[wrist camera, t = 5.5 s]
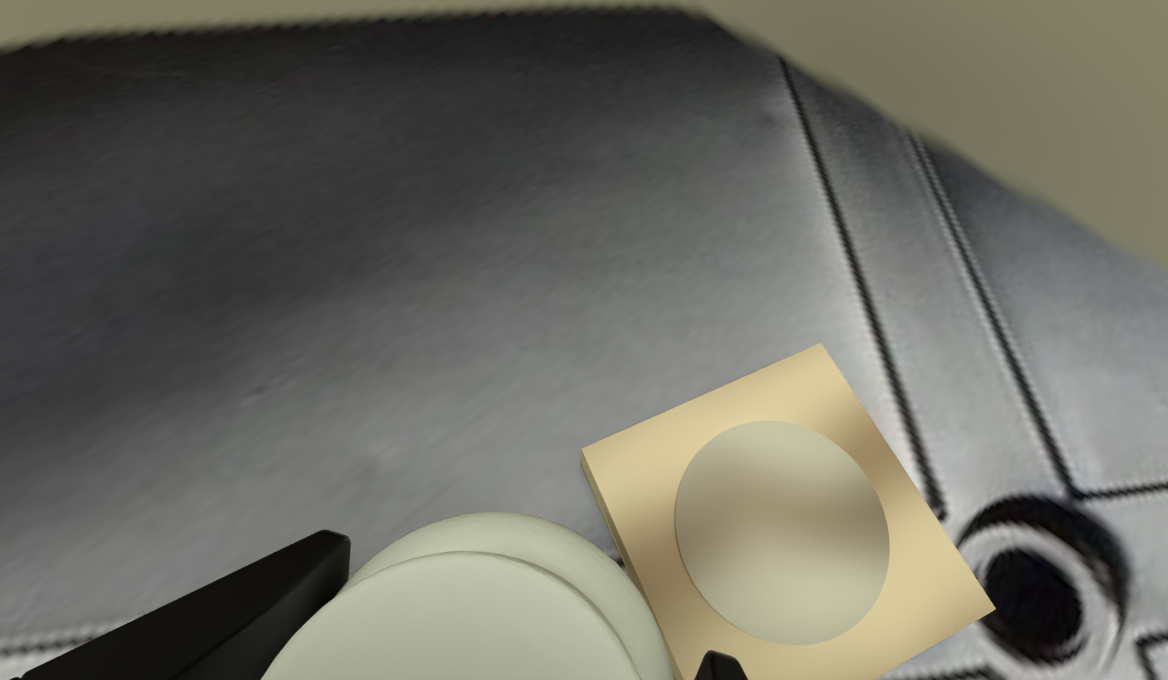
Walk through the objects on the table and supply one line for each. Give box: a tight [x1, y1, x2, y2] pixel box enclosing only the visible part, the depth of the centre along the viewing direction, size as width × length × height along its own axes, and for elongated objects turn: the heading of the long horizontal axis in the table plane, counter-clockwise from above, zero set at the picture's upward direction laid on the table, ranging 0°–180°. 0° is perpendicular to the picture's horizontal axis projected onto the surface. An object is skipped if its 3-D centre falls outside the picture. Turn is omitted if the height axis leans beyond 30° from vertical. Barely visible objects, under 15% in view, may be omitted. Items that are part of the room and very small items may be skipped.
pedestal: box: [581, 343, 996, 680], centre depth 20 cm, size 10×10×3 cm
